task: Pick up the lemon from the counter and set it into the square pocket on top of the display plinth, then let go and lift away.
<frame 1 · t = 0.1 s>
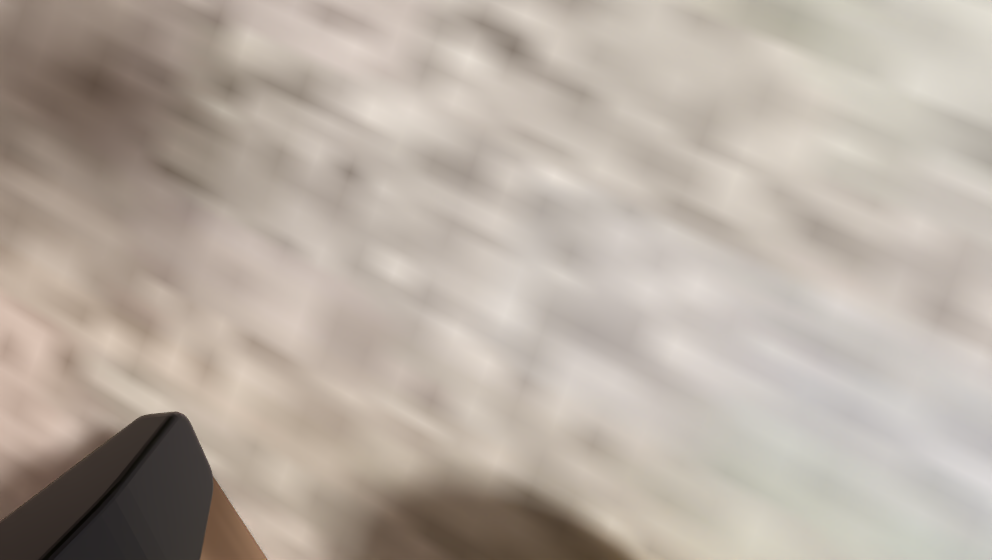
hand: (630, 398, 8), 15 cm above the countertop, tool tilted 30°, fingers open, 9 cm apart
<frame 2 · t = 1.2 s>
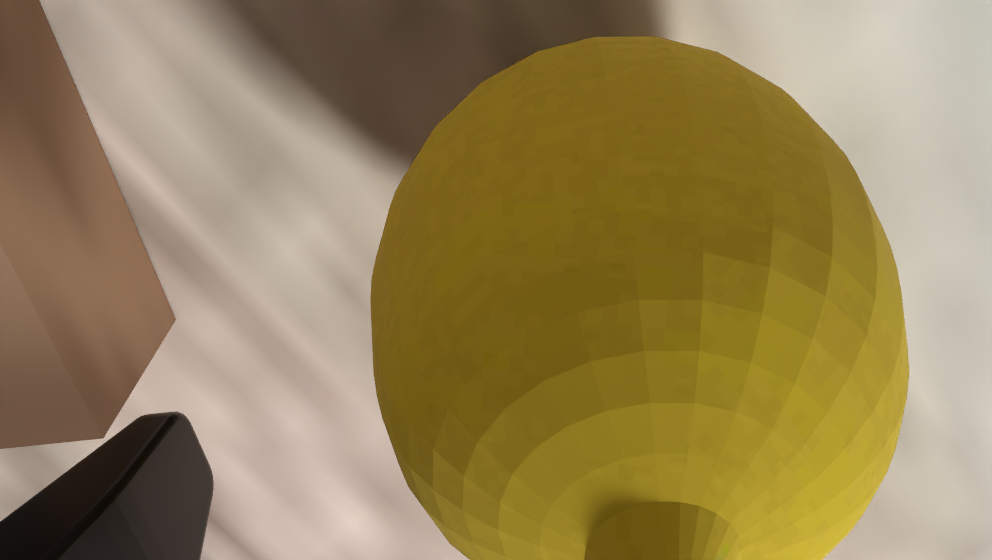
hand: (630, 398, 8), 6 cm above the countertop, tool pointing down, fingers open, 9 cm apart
lemon: (596, 150, 13), on the countertop
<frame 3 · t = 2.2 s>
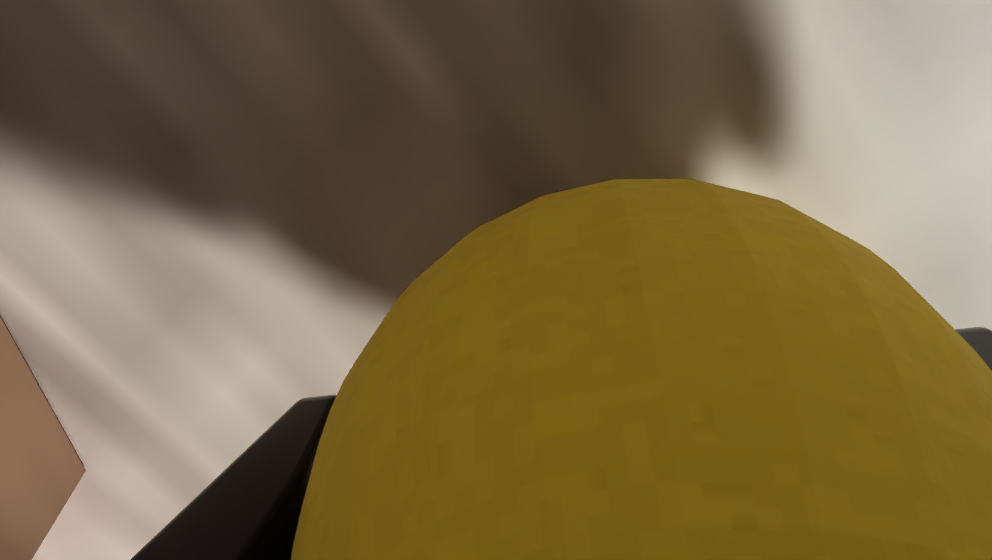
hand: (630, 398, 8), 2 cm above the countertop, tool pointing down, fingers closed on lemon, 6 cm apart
lemon: (612, 277, 10), on the countertop, touching gripper
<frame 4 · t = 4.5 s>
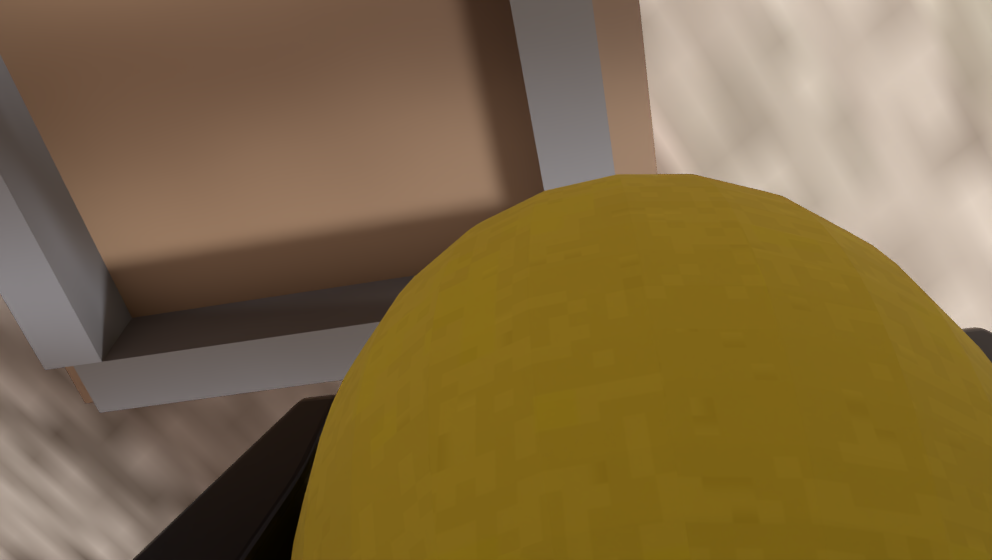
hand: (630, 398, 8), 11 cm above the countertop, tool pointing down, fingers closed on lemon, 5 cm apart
lemon: (615, 274, 10), point 9 cm above the countertop, touching gripper
display plinth: (304, 24, 18), on the countertop
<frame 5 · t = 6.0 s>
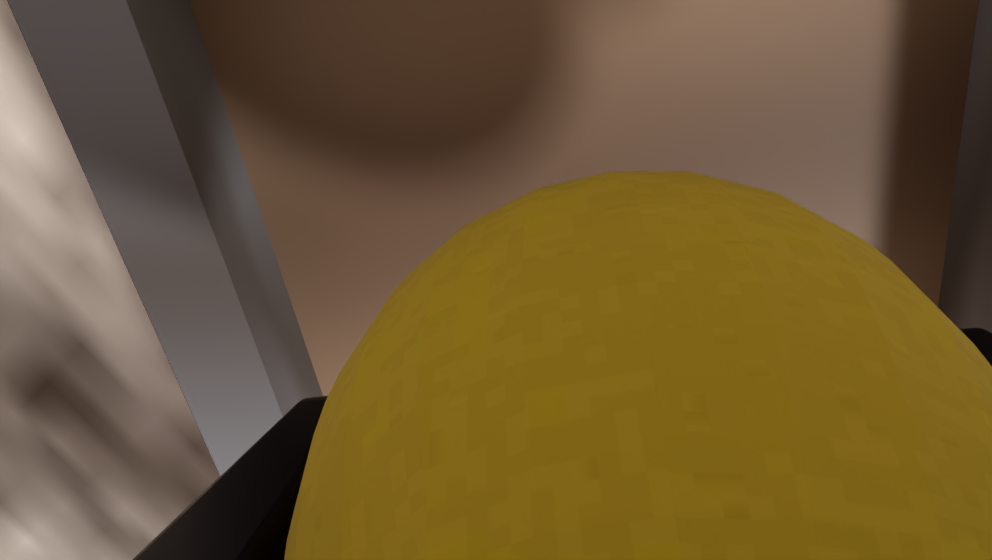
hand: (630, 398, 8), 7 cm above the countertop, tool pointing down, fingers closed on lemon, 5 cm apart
lemon: (611, 272, 10), point 4 cm above the countertop, touching gripper
display plinth: (588, 129, 14), on the countertop
when the fingers open (7 cm above the countertop, at t = 6.5 s): lemon drops 1 cm, resting on display plinth.
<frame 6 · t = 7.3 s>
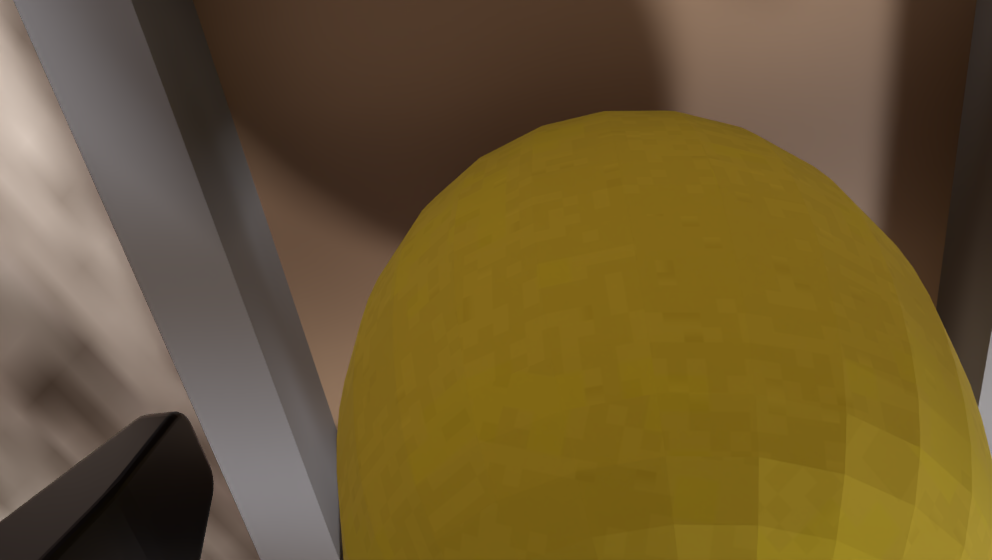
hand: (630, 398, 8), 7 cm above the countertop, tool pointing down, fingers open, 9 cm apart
lemon: (604, 211, 12), point 3 cm above the countertop, touching display plinth
display plinth: (588, 132, 14), on the countertop
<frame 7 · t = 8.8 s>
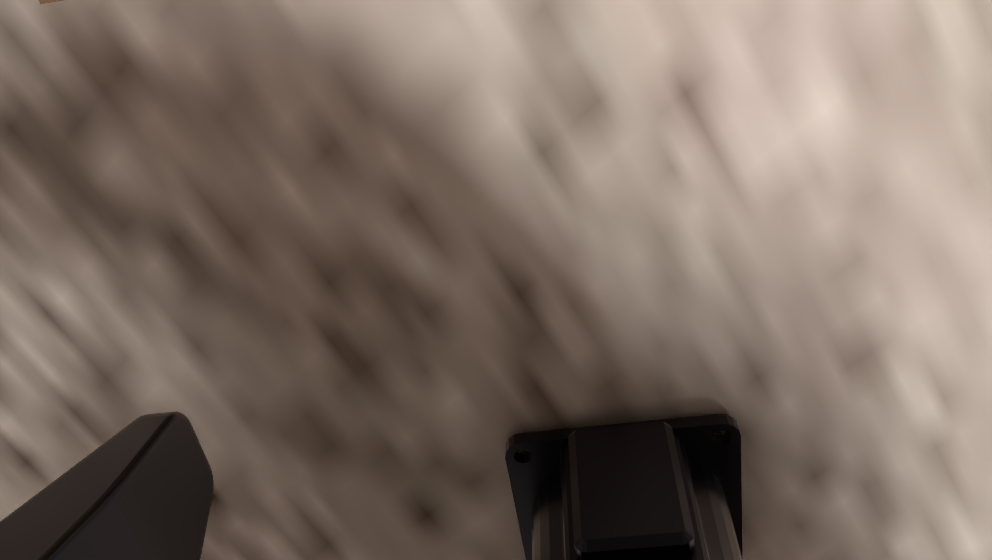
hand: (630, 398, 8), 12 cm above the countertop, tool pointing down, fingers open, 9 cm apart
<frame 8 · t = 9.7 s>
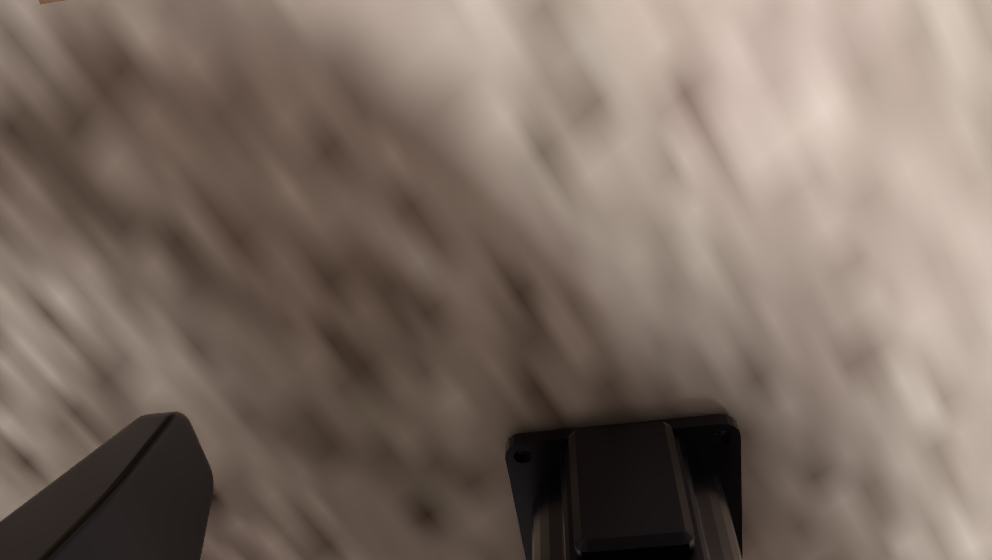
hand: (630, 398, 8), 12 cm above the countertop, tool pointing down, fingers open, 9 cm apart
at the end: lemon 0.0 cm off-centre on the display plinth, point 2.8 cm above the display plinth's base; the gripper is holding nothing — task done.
